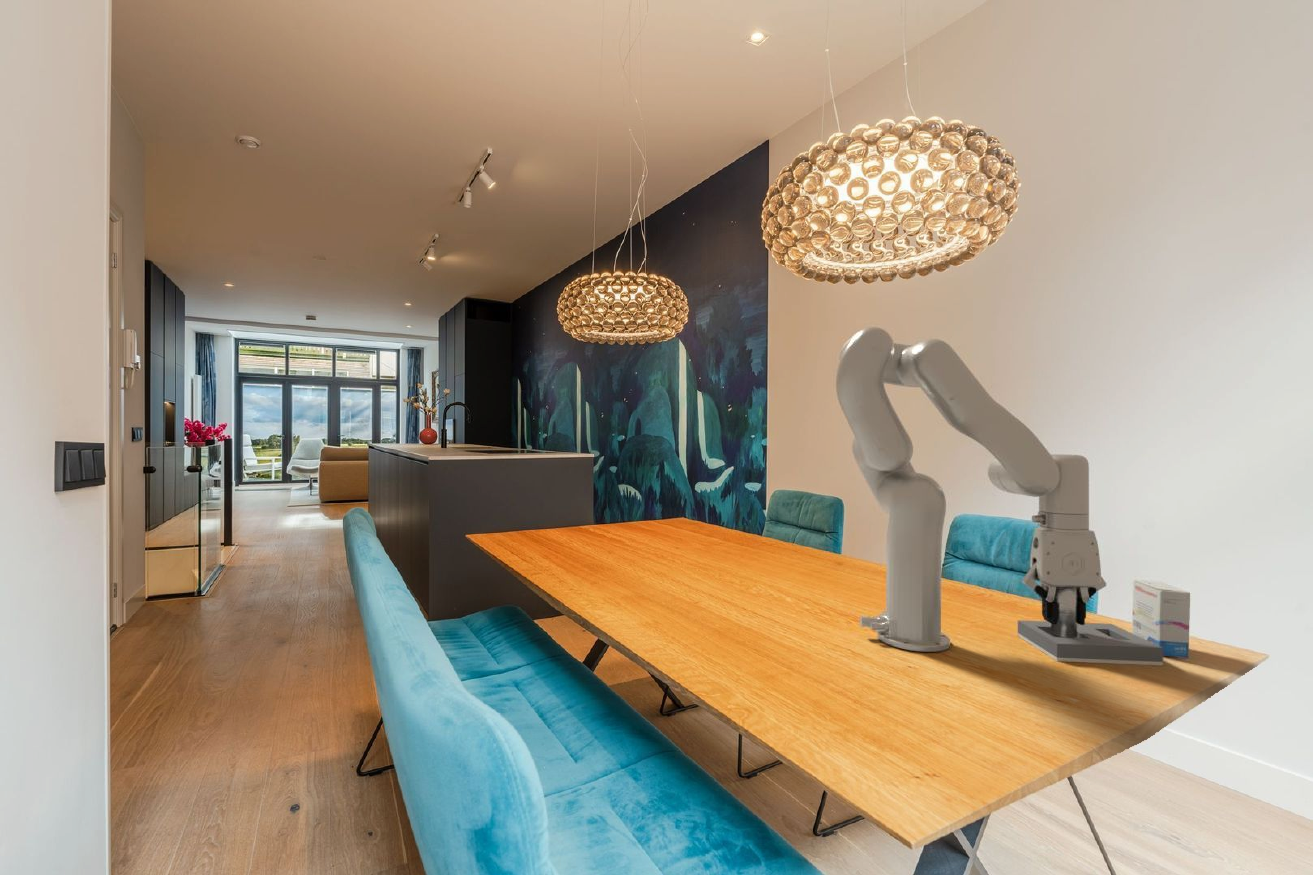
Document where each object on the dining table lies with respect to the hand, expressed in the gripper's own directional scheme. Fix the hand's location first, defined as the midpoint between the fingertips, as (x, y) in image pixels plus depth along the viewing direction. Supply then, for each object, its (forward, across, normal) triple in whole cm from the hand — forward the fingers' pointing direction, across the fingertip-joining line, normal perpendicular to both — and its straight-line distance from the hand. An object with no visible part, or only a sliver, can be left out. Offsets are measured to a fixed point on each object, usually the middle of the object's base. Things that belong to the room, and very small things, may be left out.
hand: (1063, 621), depth 107 cm
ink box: (+5, +18, +2) cm, 19 cm away
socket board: (+5, +4, 0) cm, 6 cm away
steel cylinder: (+2, 0, 0) cm, 2 cm away
